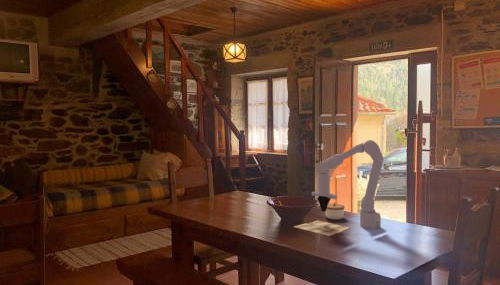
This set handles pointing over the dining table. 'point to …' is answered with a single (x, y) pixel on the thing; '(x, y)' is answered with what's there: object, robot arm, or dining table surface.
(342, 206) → the lidded jar
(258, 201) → the dining table surface
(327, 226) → the board
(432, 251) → the dining table surface
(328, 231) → the thin wooden board
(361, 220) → the robot arm
